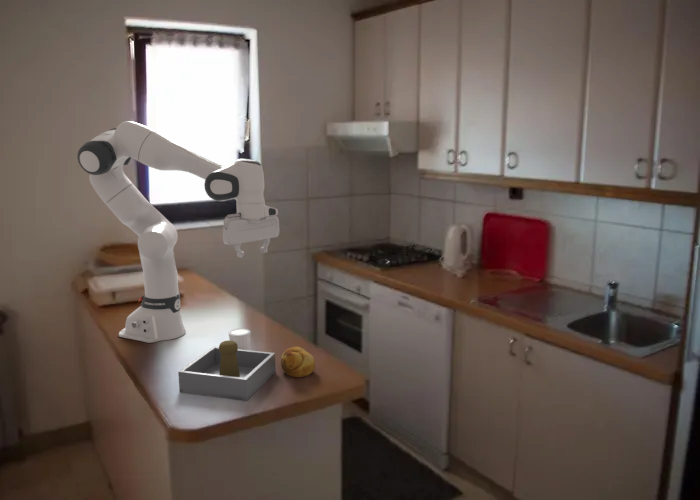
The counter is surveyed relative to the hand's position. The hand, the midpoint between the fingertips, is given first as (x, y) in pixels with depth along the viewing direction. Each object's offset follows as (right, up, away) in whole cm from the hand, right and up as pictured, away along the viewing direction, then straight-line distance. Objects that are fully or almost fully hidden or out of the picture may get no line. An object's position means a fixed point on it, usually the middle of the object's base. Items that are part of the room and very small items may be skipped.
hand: (252, 254), depth 198 cm
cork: (-3, -35, -20) cm, 41 cm away
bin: (-3, -36, -20) cm, 41 cm away
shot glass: (-4, -32, +3) cm, 32 cm away
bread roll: (+15, -35, -12) cm, 40 cm away
